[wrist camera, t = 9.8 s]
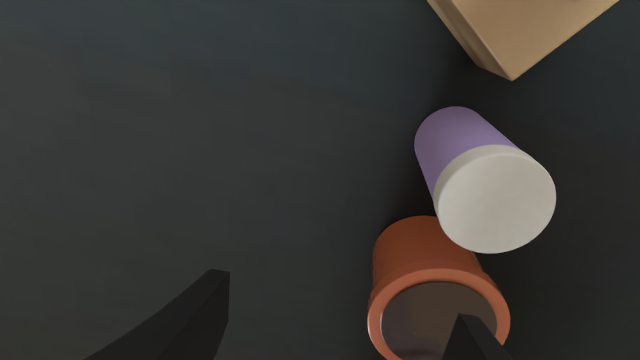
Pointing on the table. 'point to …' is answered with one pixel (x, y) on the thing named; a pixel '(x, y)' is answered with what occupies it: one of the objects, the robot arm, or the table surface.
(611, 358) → the table surface
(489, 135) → the glue stick
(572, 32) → the birch pen block
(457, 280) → the terracotta pot
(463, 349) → the robot arm
